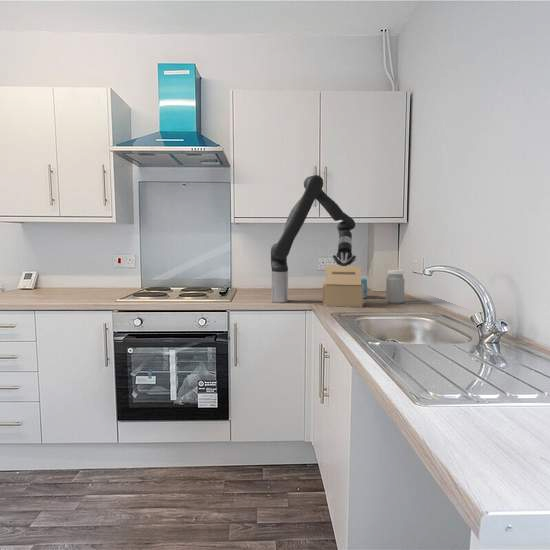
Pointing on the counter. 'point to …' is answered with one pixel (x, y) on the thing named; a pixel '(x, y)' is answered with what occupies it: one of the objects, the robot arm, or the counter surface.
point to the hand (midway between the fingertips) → (343, 269)
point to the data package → (364, 281)
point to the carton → (343, 295)
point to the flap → (343, 275)
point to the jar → (395, 286)
